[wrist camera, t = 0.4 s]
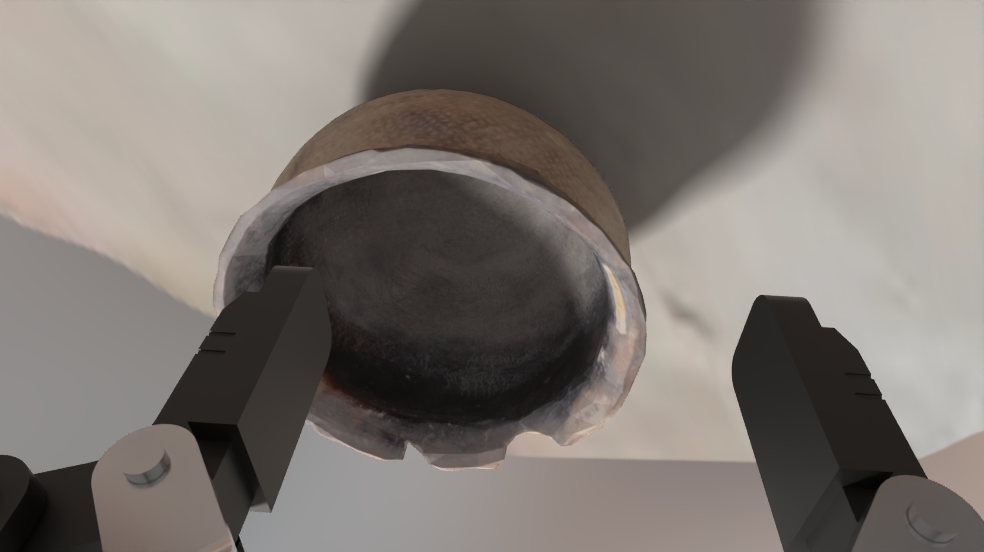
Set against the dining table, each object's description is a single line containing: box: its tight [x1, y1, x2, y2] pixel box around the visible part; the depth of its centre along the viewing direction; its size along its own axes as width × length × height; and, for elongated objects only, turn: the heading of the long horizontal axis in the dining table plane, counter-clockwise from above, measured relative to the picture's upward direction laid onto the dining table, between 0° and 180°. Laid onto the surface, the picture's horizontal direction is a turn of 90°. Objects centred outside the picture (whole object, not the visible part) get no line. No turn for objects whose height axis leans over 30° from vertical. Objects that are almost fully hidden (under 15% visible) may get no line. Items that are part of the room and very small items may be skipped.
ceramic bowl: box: [213, 89, 646, 471], centre depth 37 cm, size 22×22×15 cm
